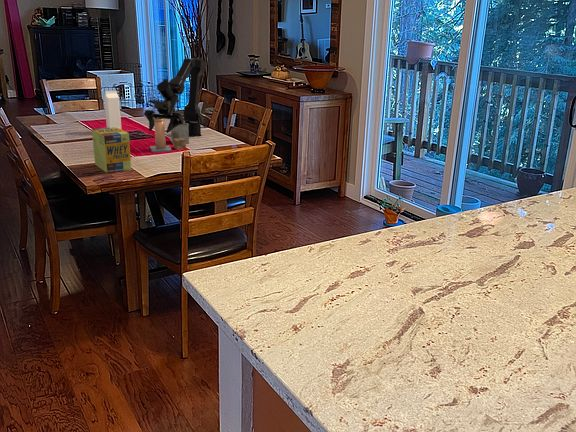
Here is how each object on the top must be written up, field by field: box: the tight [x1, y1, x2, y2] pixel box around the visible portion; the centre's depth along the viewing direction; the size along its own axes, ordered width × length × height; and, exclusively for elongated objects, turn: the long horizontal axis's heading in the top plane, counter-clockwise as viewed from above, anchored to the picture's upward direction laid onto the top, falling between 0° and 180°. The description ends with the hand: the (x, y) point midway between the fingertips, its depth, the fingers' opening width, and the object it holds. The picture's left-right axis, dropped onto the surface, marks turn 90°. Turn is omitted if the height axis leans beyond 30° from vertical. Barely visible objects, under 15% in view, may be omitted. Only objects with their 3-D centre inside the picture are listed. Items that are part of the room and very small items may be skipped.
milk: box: [103, 89, 122, 130], centre depth 291 cm, size 6×6×22 cm
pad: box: [149, 144, 173, 153], centre depth 264 cm, size 9×9×1 cm
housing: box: [169, 121, 190, 145], centre depth 278 cm, size 8×8×10 cm
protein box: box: [91, 127, 132, 174], centre depth 231 cm, size 10×15×16 cm
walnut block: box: [172, 138, 187, 151], centre depth 267 cm, size 4×4×4 cm
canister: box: [154, 118, 167, 149], centre depth 261 cm, size 5×5×14 cm
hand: (158, 131), depth 260 cm, fingers open, 9 cm apart
